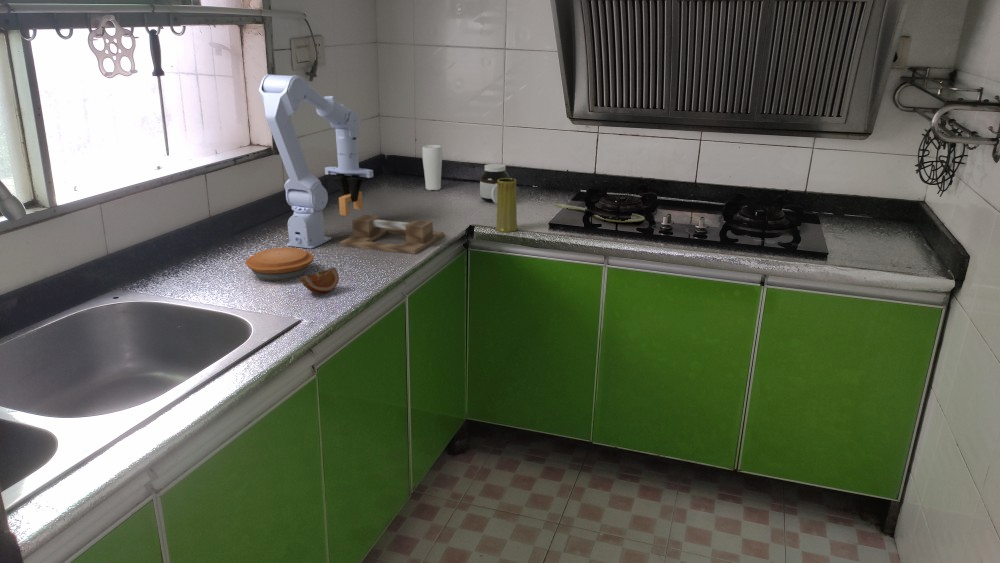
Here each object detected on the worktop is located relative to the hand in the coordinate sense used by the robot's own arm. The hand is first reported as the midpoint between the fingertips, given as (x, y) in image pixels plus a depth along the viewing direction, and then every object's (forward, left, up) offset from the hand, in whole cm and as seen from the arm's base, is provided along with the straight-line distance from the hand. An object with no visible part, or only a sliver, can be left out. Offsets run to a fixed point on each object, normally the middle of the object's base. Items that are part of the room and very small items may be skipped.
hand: (350, 200), depth 211 cm
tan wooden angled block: (0, 0, -3) cm, 3 cm away
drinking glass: (+52, -1, -8) cm, 53 cm away
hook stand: (-9, -18, -8) cm, 21 cm away
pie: (-42, -6, -8) cm, 43 cm away
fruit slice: (-50, -22, -8) cm, 55 cm away
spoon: (+37, -63, -8) cm, 74 cm away
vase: (+12, -43, -8) cm, 45 cm away
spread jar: (+42, -29, -8) cm, 52 cm away
